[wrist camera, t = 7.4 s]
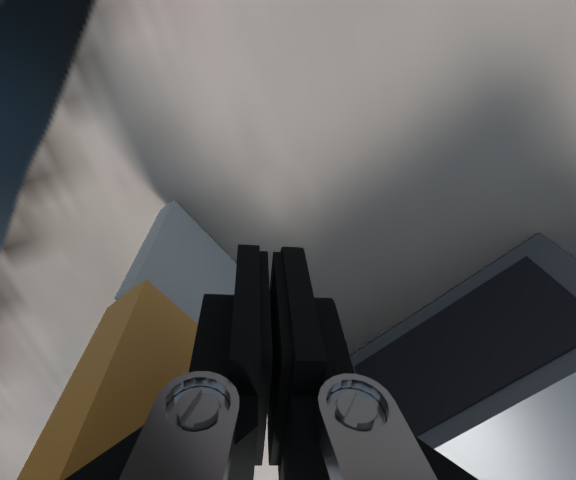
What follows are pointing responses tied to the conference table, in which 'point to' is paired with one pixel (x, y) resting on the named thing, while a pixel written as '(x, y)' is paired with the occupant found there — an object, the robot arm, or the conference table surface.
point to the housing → (491, 367)
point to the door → (134, 346)
